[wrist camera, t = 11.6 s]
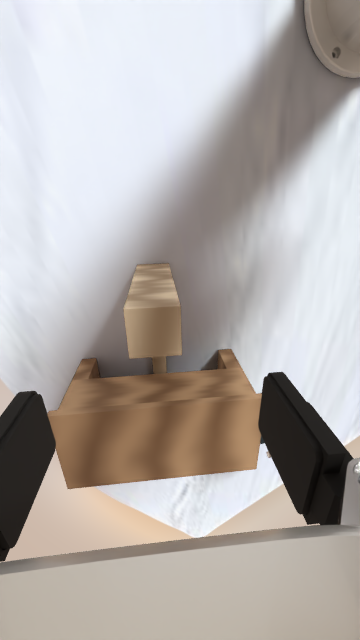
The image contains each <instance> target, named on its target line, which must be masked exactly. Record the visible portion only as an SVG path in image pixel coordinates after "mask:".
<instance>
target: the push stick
mask: <svg viewBox="0 0 360 640" xmlns="http://www.w3.org/2000/svg"><path fill="white" fill-rule="evenodd" d="M123 311H124V319H125V328H126V336H127V344H128V353H129V359H133V358H147V357H152V363H153V374H163V373H167V366H166V356H176V355H182V339H181V305H180V302H179V298H178V295H177V291H176V288H175V284H174V280H173V277H172V273H171V270H170V266H169V263H163V264H140V265H137V267H136V270H135V273H134V276H133V280H132V283H131V286H130V289H129V293H128V296H127V299H126V302H125V305H124V309H123Z"/></svg>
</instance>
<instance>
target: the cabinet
mask: <svg viewBox="0 0 360 640" xmlns="http://www.w3.org/2000/svg"><path fill="white" fill-rule="evenodd" d="M261 397H262V393H260V394H256V393H255V391H254V389H253V387H252V386H251V384H250V382H249V380H248V378H247V377H246V375H245V373H244V371H243V369H242V368H241V366H240V364H239V362H238V360H237V359H236V357H235V355H234V353H233V351H232V350H231V349H224V350H218V365H217V370H203V371H190V372H176V373H163V374H149V375H136V376H122V377H109V378H100V376H99V370H98V365H97V359H96V358H92V359H82V361H81V363H80V365H79V367H78V369H77V371H76V373H75V375H74V377H73V379H72V381H71V383H70V386H69V388H68V390H67V392H66V394H65V396H64V398H63V400H62V402H61V404H60V406H59V408H58V410H55V411H49V412H48V414H47V415H48V418H49V421H50V424H51V428H52V431H53V434H54V437H55V440H56V451H57V455H58V458H59V461H60V464H61V468H62V471H63V474H64V477H65V481H66V484H67V487H68V489H73V488H82V487H91V486H101V485H111V484H120V483H130V482H139V481H148V480H158V479H167V478H177V477H186V476H196V475H205V474H214V473H224V472H233V471H243V470H252V469H256V468H257V461H258V453H259V446H260V439H261V433H260V431H259V427H258V420H259V412H260V405H261Z"/></svg>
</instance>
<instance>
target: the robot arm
mask: <svg viewBox="0 0 360 640" xmlns="http://www.w3.org/2000/svg"><path fill="white" fill-rule="evenodd" d="M304 14H305V23H306V29H307V33H308V37H309V40H310V43H311V46H312V48H313V50H314V52H315V54H316V56H317V57H318V58H319V60H320V61H321V62H322V64H323V65H324V66H325V67H327V68H328V69H329V70H330V71H332V72H333V73H336V74H338V75H340V76H343V77H349V78H357V77H360V0H304ZM258 427H259V431H260V433H261V436H262V438H263V440H264V442H265V444H266V446H267V449H268V451H269V453H270V455H271V457H272V459H273V461H274V464H275V466H276V468H277V470H278V472H279V474H280V476H281V479H282V481H283V483H284V485H285V487H286V489H287V491H288V494H289V496H290V498H291V500H292V502H293V504H294V507H295V509H296V510H297V512H298V513H299V514H303V516H304V518H305V520H306V522H307V524H308V525H309V524H316V523H319V524H320V525H314V526H304V527H293V528H282V529H271V530H262V531H253V532H244V533H236V534H227V535H218V536H209V537H200V538H192V539H184V540H176V541H168V542H159V543H150V544H142V545H134V546H125V547H117V548H109V549H101V550H93V551H85V552H77V553H69V554H61V555H53V556H45V557H38V558H30V559H22V560H16V561H9V562H1V563H0V640H360V458H355V459H354V458H353V457H352V456H351V455H350V453H349V452H348V451H347V450H346V449H345V447H344V446H343V445H342V443H341V442H340V441H339V439H338V438H337V437H336V436H335V434H334V433H333V432H332V431H331V429H330V428H329V427H328V426H327V424H326V423H325V422H324V421H323V419H322V418H321V417H320V415H319V414H318V413H317V412H316V410H315V409H314V408H313V407H312V405H311V404H310V403H308V402H306V401H305V399H304V398H303V397H302V396H301V394H300V393H299V392H298V390H297V389H296V388H295V387H294V385H293V384H292V383H291V381H290V380H289V379H288V378H287V376H286V375H285V374H284V373H283V372H274V373H269V374H268V376H267V377H264V381H263V389H262V397H261V405H260V412H259V420H258ZM55 448H56V440H55V437H54V434H53V431H52V428H51V424H50V421H49V418H48V415H47V412H46V408H45V405H44V402H43V399H42V396H41V395H40V394H37V392H36V391H27V392H19V393H18V394H17V395H16V396H15V397H14V399H13V400H12V402H11V403H10V404H9V405H8V407H7V408H6V410H5V411H4V412H3V414H2V415H1V416H0V561H5V559H6V557H7V554H8V552H9V549H10V548H13V547H14V546H15V545H16V543H17V541H18V538H19V536H20V534H21V531H22V529H23V526H24V524H25V522H26V519H27V517H28V514H29V512H30V510H31V507H32V504H33V502H34V500H35V497H36V495H37V492H38V490H39V488H40V486H41V483H42V481H43V478H44V476H45V473H46V471H47V469H48V466H49V464H50V461H51V459H52V457H53V454H54V452H55Z"/></svg>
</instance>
